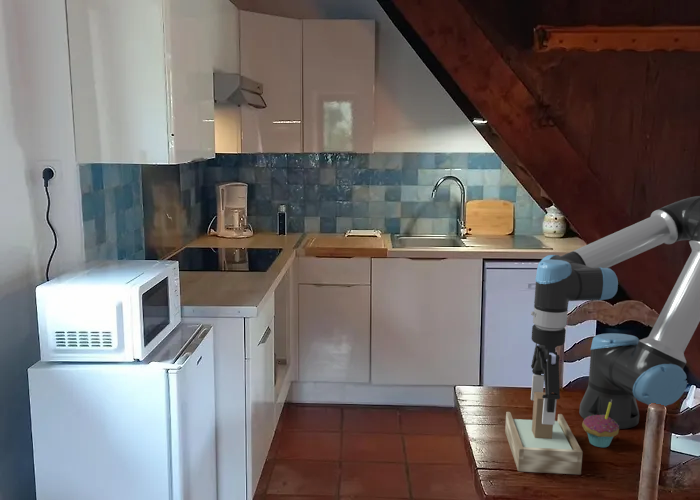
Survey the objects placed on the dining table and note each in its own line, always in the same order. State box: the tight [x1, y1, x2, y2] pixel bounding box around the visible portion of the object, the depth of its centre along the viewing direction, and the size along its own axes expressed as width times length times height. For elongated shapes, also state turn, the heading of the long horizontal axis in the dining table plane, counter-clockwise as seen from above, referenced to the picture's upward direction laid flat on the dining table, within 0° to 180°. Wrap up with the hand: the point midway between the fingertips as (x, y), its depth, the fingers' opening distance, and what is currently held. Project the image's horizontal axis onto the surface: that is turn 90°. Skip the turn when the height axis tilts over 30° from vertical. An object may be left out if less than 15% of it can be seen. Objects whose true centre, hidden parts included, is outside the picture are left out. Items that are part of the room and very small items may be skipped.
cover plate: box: [513, 391, 572, 449], centre depth 159 cm, size 11×16×12 cm
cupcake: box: [581, 400, 620, 448], centre depth 165 cm, size 9×8×12 cm
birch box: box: [504, 411, 584, 475], centre depth 161 cm, size 14×20×6 cm
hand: (542, 411), depth 159 cm, fingers open, 13 cm apart
